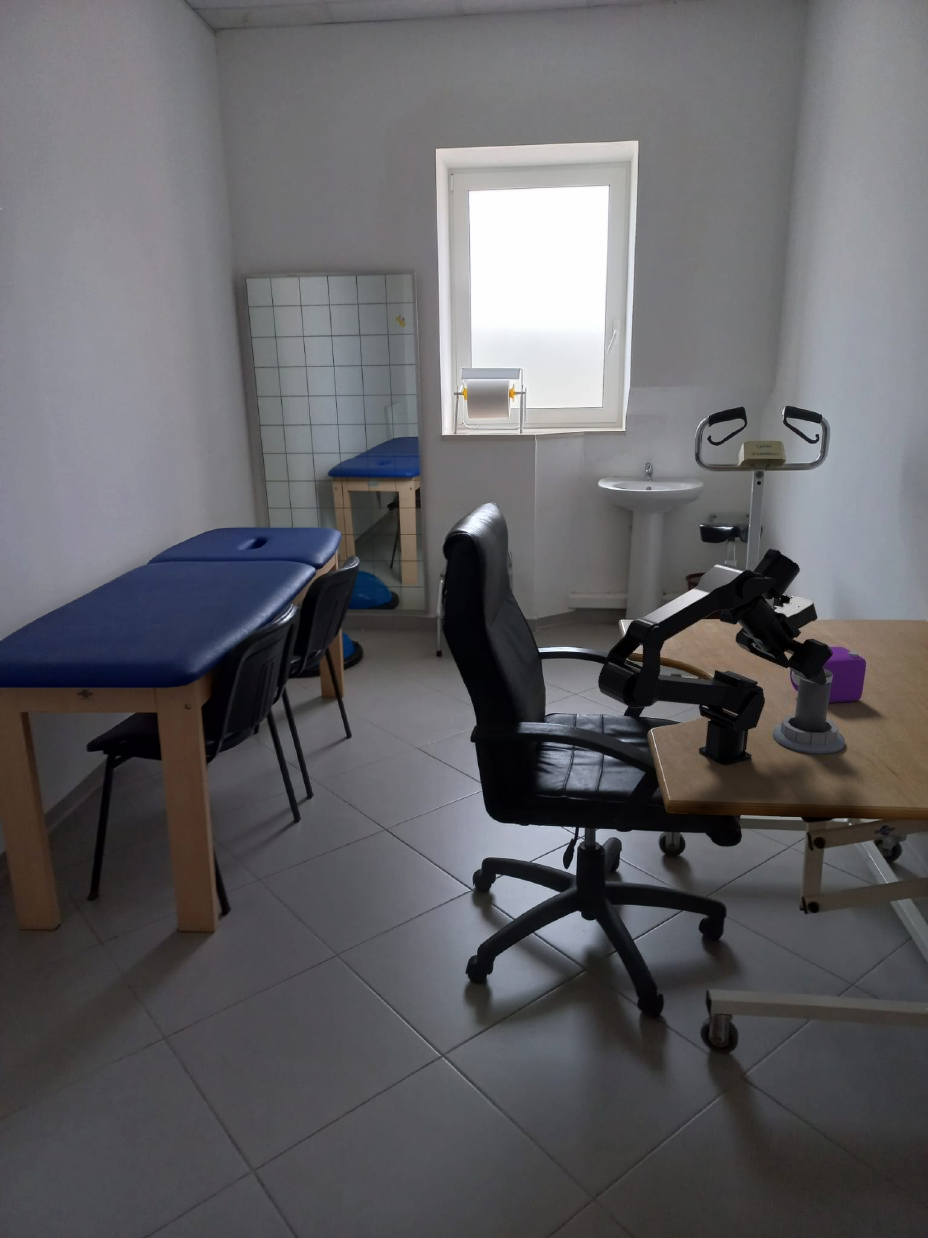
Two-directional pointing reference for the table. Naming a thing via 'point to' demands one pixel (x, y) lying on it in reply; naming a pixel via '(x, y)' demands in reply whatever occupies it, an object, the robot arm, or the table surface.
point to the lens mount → (808, 737)
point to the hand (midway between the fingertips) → (805, 674)
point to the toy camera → (842, 675)
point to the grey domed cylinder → (812, 704)
